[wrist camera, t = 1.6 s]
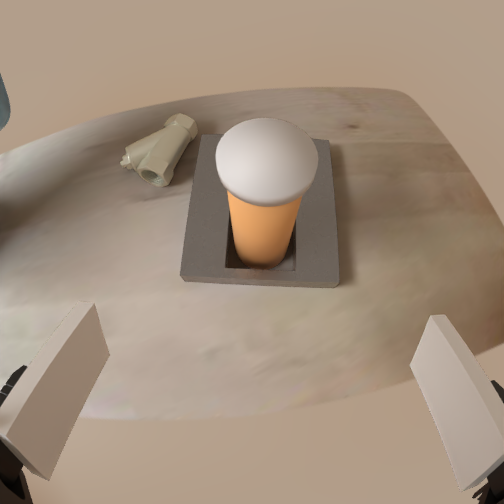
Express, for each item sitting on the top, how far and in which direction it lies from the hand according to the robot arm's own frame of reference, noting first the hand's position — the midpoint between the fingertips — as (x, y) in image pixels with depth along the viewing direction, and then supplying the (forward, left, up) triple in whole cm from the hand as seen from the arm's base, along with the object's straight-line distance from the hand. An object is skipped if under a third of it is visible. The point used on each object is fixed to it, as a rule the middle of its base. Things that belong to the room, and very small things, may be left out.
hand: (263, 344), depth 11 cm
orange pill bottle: (0, +10, -16) cm, 19 cm away
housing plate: (0, +14, -16) cm, 22 cm away
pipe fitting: (-12, +21, -17) cm, 30 cm away
